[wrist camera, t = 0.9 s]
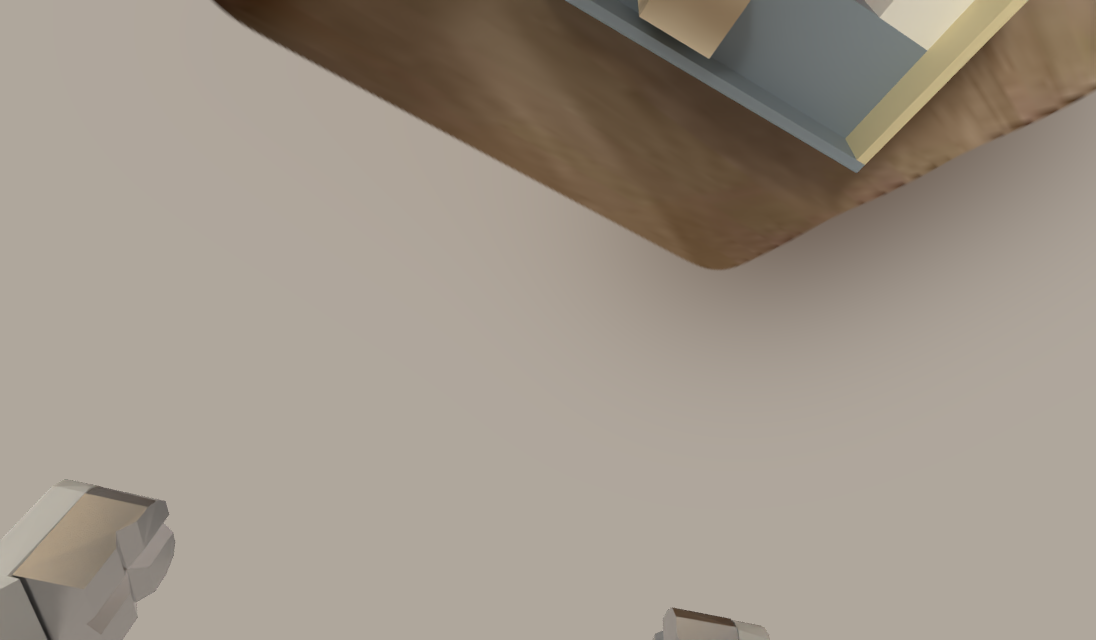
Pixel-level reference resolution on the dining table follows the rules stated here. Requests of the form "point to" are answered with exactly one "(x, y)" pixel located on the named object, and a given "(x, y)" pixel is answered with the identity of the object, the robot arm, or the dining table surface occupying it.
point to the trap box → (829, 61)
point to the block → (693, 20)
